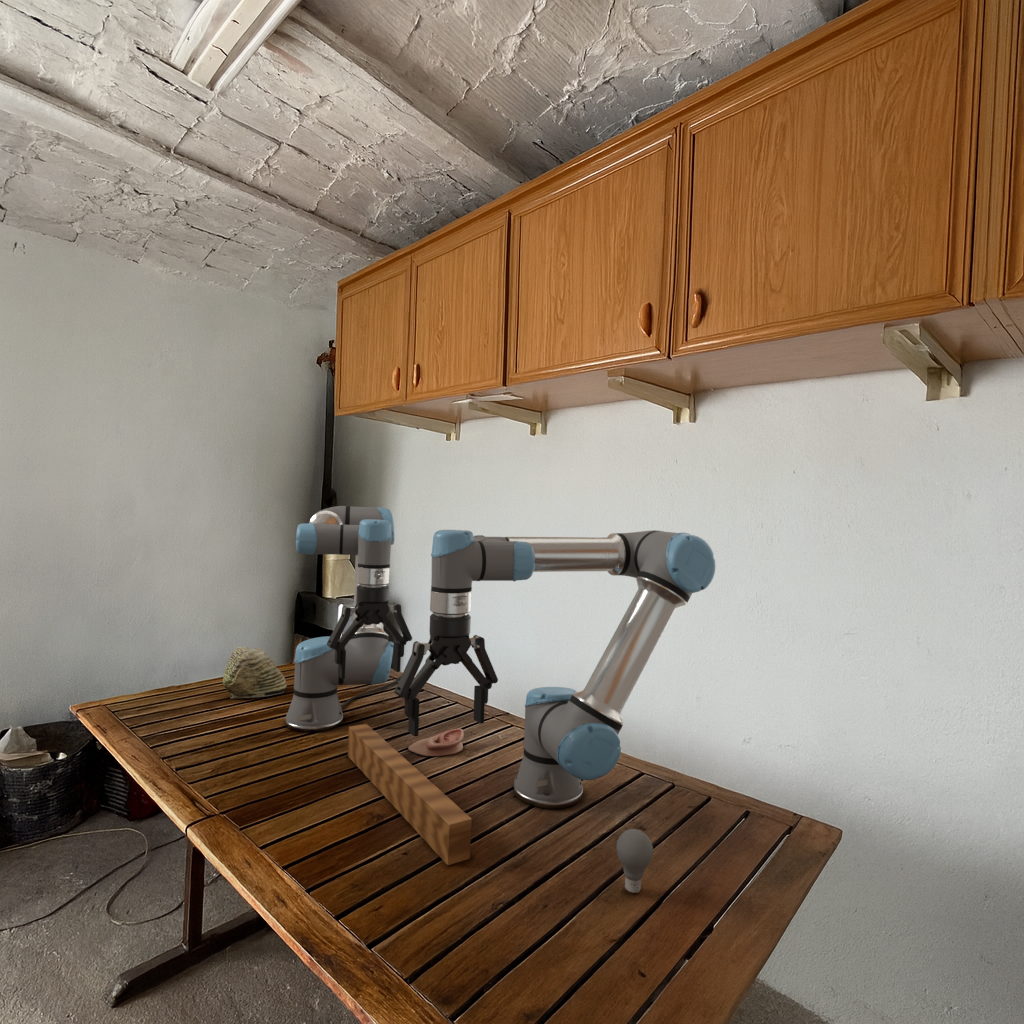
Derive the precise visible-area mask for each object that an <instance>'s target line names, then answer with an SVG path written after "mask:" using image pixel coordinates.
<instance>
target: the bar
mask: <svg viewBox="0 0 1024 1024" xmlns="http://www.w3.org/2000/svg"><path fill="white" fill-rule="evenodd" d="M347 757H348V758H349V760H351V761H352V762H353V764H354V765H355V766H356V767H357V768H358V769H359V770H360V771H361V772H362V773H363V775H364V776H365V777H366V778H367V779H368V780H369V781H370V782H371V783H372V785H374V787H376V789H377V790H378V791H379V792H380V793H381V794H382V796H384V798H385V799H387V801H388V802H389V803H390V804H391V805H392V806H393V807H394V808H395V809H396V811H397V812H398V813H399V814H400V815H401V816H402V817H403V818H404V819H405V821H406V822H407V823H408V824H409V825H410V827H412V828H413V830H415V831H416V832H417V834H418V835H419V836H420V837H421V839H422V840H424V841H425V842H426V844H427V845H428V846H429V847H430V848H431V849H432V850H433V851H434V852H435V853H436V854H437V855H438V856H439V858H440V859H441V860H442V861H443V862H444V863H445V864H446V865H447V866H451V865H454V864H457V863H461V862H463V861H467V860H470V859H471V844H472V843H471V842H472V824H473V823H472V822H473V820H472V818H471V817H470V815H468V814H467V813H466V812H465V811H464V810H463V809H461V807H459V806H458V805H457V804H456V803H455V802H454V801H453V800H452V799H451V798H449V797H448V796H447V794H445V793H444V792H442V790H440V789H439V788H438V787H437V786H436V785H435V784H434V783H433V782H431V780H429V779H428V778H427V777H426V776H425V775H424V774H423V773H422V772H420V770H419V769H417V768H416V767H415V766H414V765H413V764H412V763H410V762H409V761H408V760H407V759H406V758H405V757H404V756H403V755H402V754H400V752H399V751H397V750H396V749H395V748H393V746H391V745H390V744H389V743H388V742H387V741H386V740H385V739H384V738H383V737H381V735H379V734H378V733H377V732H376V731H375V730H374V729H373V728H372V727H371V726H369V724H367V723H364V724H357V725H351V726H348V739H347Z"/></svg>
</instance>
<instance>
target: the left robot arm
mask: <svg viewBox="0 0 1024 1024" xmlns="http://www.w3.org/2000/svg"><path fill="white" fill-rule="evenodd" d="M394 523H395V522H394V518H393V513H392V511H391V510H390V509H389V508H386V507H378V506H354V505H353V506H352V505H351V506H349V505H338V506H337V505H336V506H331V507H327V508H324V509H321V510H319V511H317V512H316V513H314V514H313V515H312V517H311V518H310V520H309V522H308V523H300V524H298V525H297V526H296V533H295V549H296V552H297V553H298V554H302V555H303V554H304V555H310V556H313V555H340V556H345V555H346V556H355V562H354V564H355V565H354V592H353V593H354V594H353V606H350V607H349V606H347V605H343V606H342V608H341V615H340V616H339V619H338V621H337V622H336V625H335V627H334V628H333V630H332V632H331V634H330V635H329V636H328V635H327V636H319V637H313V638H309V639H306V640H303V641H302V642H299V643H298V644H297V645H296V648H295V655H294V660H293V663H294V674H293V675H294V680H293V695H292V696H293V697H292V699H291V702H290V704H289V708H288V711H287V713H286V715H285V726H286V728H287V729H289V730H291V731H294V732H295V731H296V732H301V733H316V732H325V731H329V730H332V729H335V728H337V727H339V726H340V725H342V723H343V722H344V714H343V709H342V708H345V707H346V706H347V705H348V704H349V703H350V702H351V701H353V700H355V699H358V698H361V697H363V696H366V695H370V694H372V693H375V692H379V691H381V690H383V689H386V688H388V687H390V686H392V685H394V684H396V683H398V682H399V680H400V678H401V676H402V675H400V676H399V677H398V678H397V679H395V680H394V681H392V682H389V683H388V684H385V683H386V682H388V680H389V678H390V673H391V668H392V670H393V671H395V672H396V673H400V672H401V660H402V659H401V658H403V657H404V656H405V646H406V645H407V642H411V641H412V640H413V636H412V634H411V632H410V629H409V627H408V625H407V622H406V620H405V618H404V615H403V614H402V604H399V603H397V602H393V603H392V604H389V601H390V586H389V584H390V574H391V553H392V552H391V549H392V545H394V544H395V524H394ZM390 612H391V613H392V614H393V616H394V618H395V621H396V623H397V625H398V628H399V630H400V632H399V631H398V630H397V628H396V627H395V626H394V625H393V623H392V622H391V620H390V619H389V618H388V617H387V615H388V614H389V613H390ZM352 616H353V617H352ZM350 617H352V623H351V624H350V625H349V627H348V628H347V629H346V630H345V628H346V626H347V625H348V623H349V621H350ZM384 627H385V628H386V630H387V631H388V632H389V634H390V635H391V636H392V637H393V638H394V639H395V642H393V641H391V640H390V641H389V634H388V633H387V632H386V631H385V630H384ZM344 630H345V631H344ZM343 632H344V633H343ZM401 634H402V635H401ZM380 684H385V685H383V686H380V687H378V688H374V689H371V690H369V691H365V692H363V693H359V694H357V695H354V696H352V697H350V698H348V699H347V700H346V701H345V702H344V703H342V704H341V702H340V699H339V695H338V686H355V685H357V686H362V685H370V686H373V685H380Z"/></svg>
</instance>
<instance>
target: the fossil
mask: <svg viewBox="0 0 1024 1024" xmlns="http://www.w3.org/2000/svg"><path fill="white" fill-rule="evenodd" d="M222 676H223V677H222V685H223V687H224V688H225V690H226V691H228V693H229V698H230V699H250V698H264V697H271V696H275V695H281V694H284V693H285V691H286V689H287V687H288V686H287V680H286V678H285V676H284V674H283V673H282V672H281V669H279V668H278V667H277V665H276V663H275V662H274V660H273V659H272V658H271V657H270V656H269V655H268V654H267V653H266V652H265V650H264V649H263V648H260V647H258V648H251V647H247V646H246V647H245V646H238V647H237V648H236V649H235V650H233V651H232V653H231V656H230V657H229V659H228V660H227V663H226V666H225V668H224V671H223V675H222Z"/></svg>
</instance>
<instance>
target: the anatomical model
mask: <svg viewBox="0 0 1024 1024" xmlns="http://www.w3.org/2000/svg"><path fill="white" fill-rule="evenodd" d="M464 738H465V733H464V730H463V729H462V728H453V729H450V730H447V731H443V732H441V733H438V734H435V735H433V736H431V737H427V738H422V739H420V740H417V741H414V743H412V744H410V745H409V746H408V750H409V751H410V752H412V753H414V754H417V755H420V756H424V757H440V756H449V755H453V754H458V753H459V752H461V751H463V748H464V746H463V742H462V741H463V740H464Z"/></svg>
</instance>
